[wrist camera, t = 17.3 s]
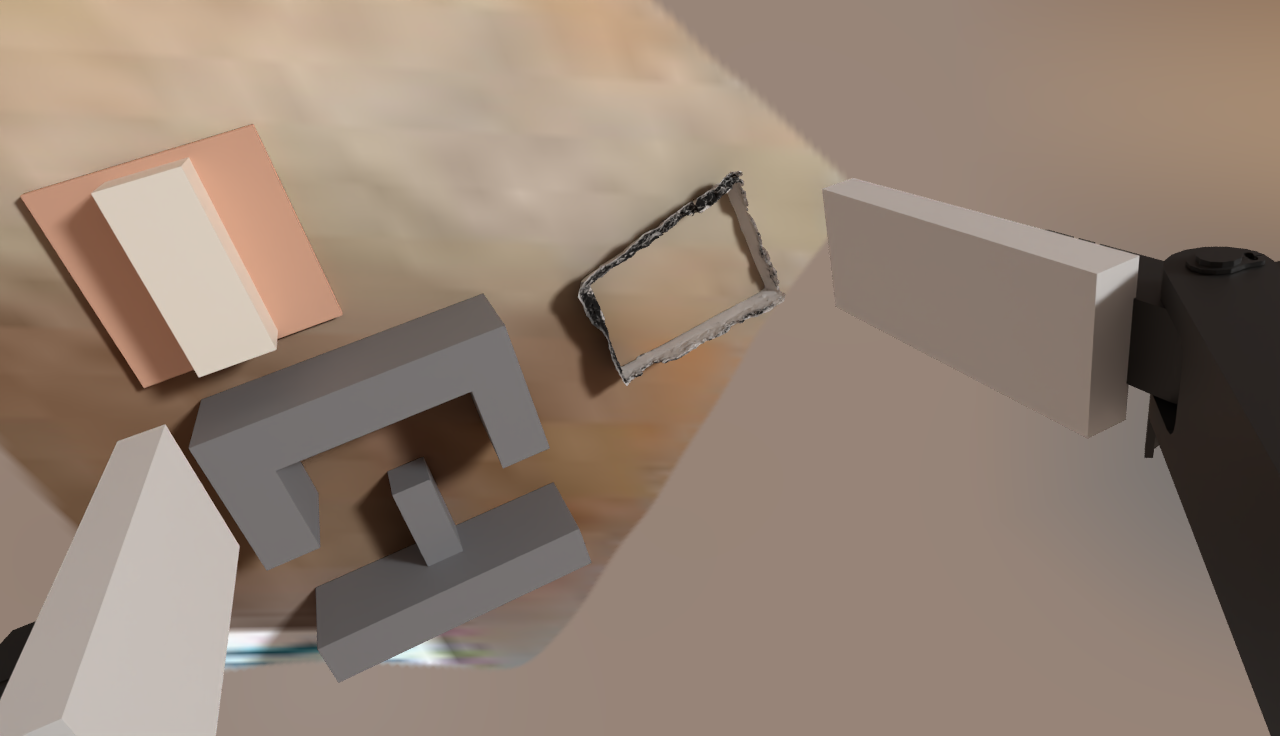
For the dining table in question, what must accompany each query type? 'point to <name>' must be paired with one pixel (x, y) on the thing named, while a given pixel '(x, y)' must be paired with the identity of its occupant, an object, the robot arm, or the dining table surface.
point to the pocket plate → (391, 480)
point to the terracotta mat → (247, 213)
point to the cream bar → (188, 265)
